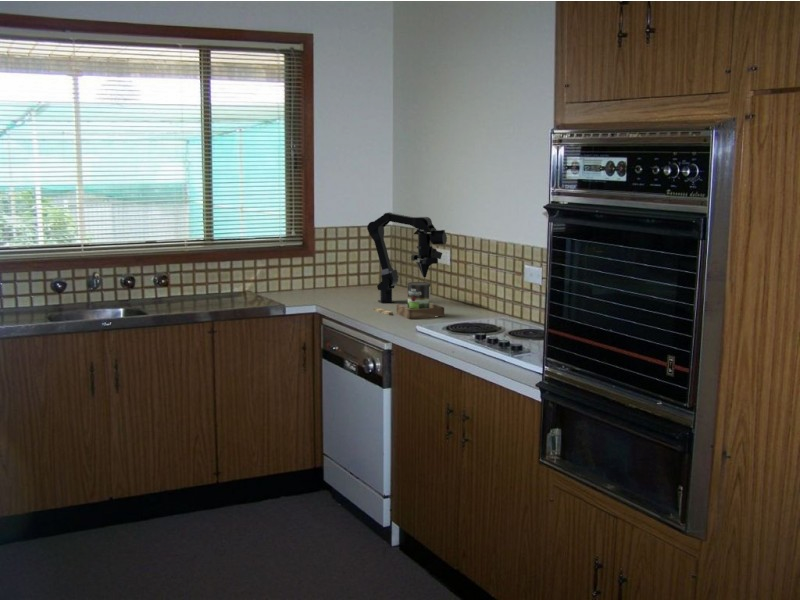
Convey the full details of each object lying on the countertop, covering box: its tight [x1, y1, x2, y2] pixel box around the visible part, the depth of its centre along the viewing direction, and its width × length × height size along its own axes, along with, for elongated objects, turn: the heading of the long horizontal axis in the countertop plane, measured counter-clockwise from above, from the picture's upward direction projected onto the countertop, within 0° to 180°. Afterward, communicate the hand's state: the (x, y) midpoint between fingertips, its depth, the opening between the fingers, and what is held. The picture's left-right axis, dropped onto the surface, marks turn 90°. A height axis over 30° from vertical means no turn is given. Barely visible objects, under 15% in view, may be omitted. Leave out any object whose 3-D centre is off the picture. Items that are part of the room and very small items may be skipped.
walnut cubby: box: [396, 301, 445, 320], centre depth 405 cm, size 15×16×4 cm
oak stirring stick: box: [372, 307, 394, 316], centre depth 412 cm, size 14×2×2 cm, turn 32°
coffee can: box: [406, 281, 432, 309], centre depth 405 cm, size 10×10×14 cm
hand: (424, 277), depth 431 cm, fingers closed
